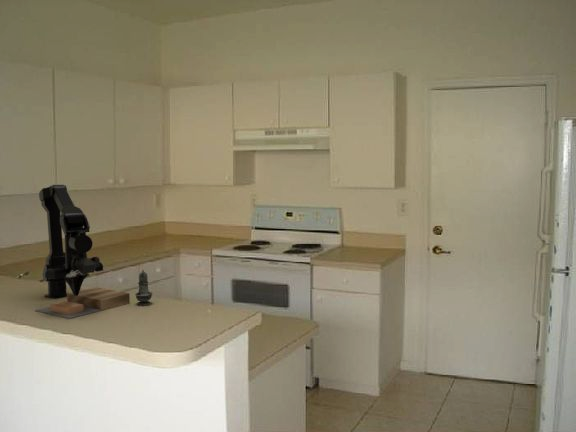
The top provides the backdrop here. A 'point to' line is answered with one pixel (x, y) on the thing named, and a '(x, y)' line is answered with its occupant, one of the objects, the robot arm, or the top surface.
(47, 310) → the mat
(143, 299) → the dark grey chess piece
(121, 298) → the board
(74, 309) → the tile
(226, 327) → the top surface
